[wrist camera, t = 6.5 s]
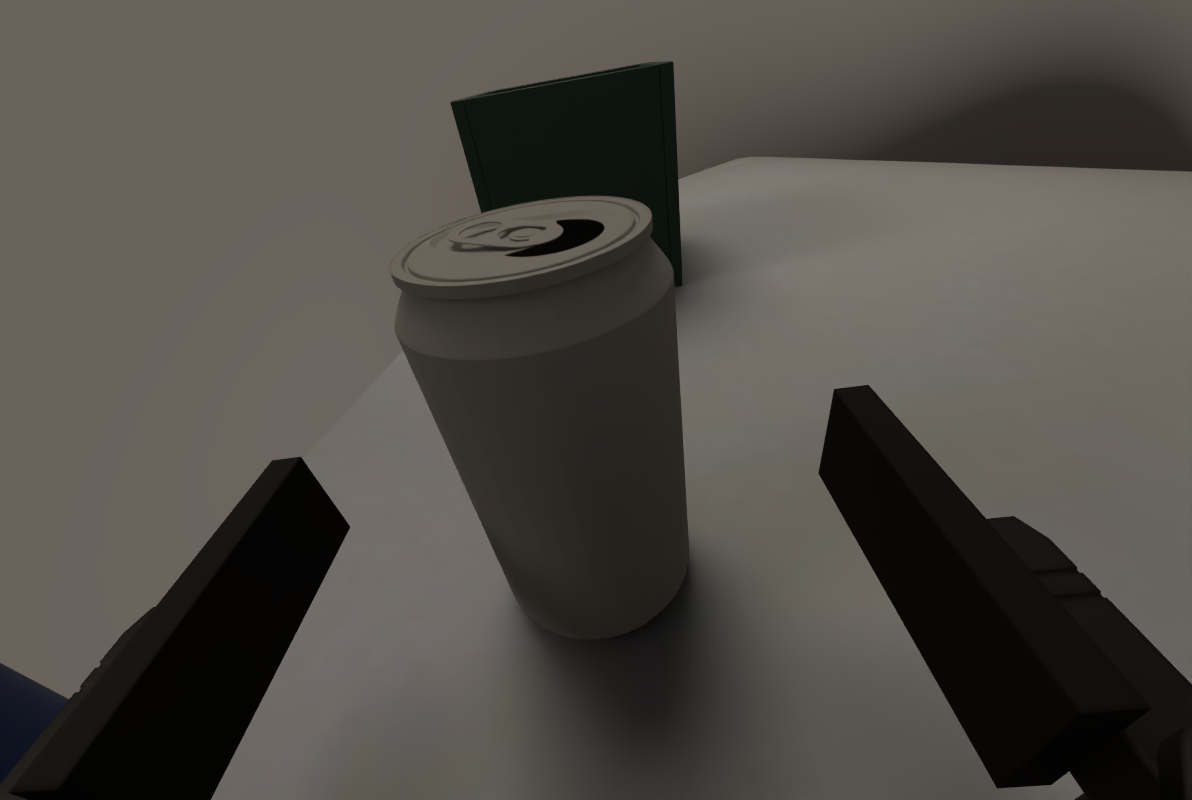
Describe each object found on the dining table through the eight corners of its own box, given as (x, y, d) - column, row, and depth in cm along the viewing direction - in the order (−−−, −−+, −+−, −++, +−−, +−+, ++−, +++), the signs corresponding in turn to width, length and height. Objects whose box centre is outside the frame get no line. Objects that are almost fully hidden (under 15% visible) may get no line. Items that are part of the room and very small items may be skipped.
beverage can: (656, 685, 13) (594, 295, 6) (478, 613, 16) (296, 282, 9) (708, 516, 18) (706, 179, 11) (562, 481, 20) (485, 193, 13)
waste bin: (508, 311, 36) (449, 101, 28) (526, 254, 47) (487, 91, 39) (682, 285, 35) (673, 60, 27) (659, 233, 46) (647, 62, 38)
